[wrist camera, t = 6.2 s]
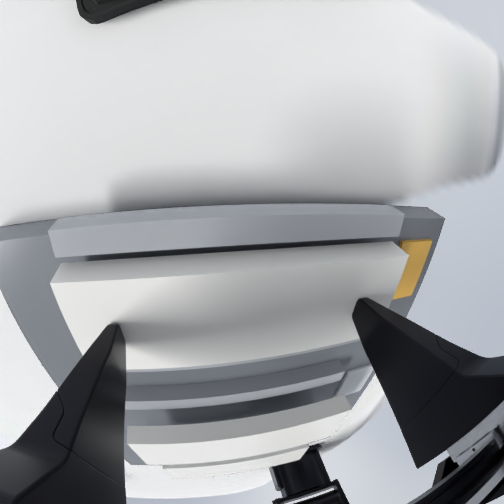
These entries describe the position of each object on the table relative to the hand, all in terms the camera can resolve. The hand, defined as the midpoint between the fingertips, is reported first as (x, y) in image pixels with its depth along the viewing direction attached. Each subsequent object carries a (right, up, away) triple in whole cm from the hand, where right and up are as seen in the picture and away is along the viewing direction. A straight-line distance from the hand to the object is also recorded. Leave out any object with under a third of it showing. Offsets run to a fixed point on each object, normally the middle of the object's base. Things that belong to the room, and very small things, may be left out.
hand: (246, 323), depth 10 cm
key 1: (-1, -17, +10) cm, 20 cm away
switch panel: (-1, -7, +8) cm, 10 cm away
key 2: (0, 0, 0) cm, 1 cm away
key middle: (0, -9, +4) cm, 10 cm away
